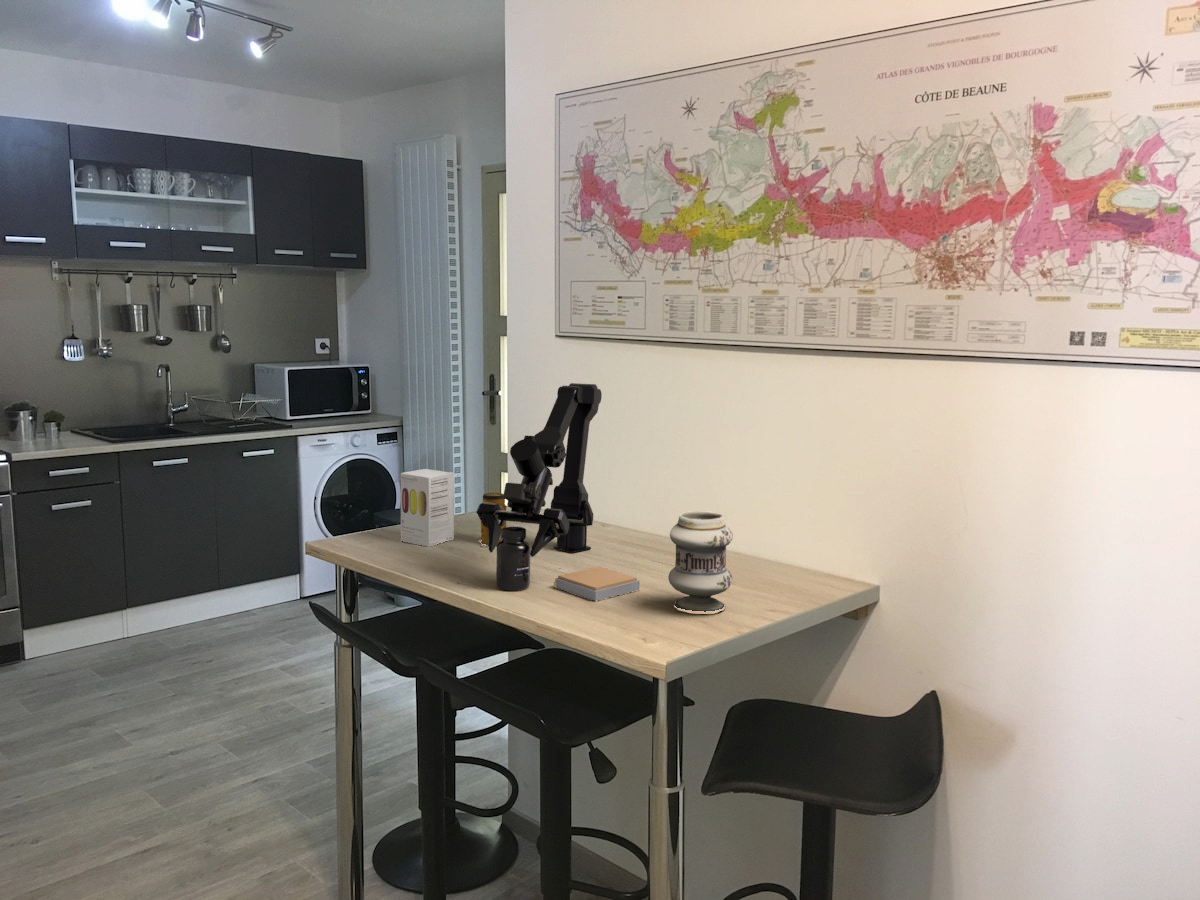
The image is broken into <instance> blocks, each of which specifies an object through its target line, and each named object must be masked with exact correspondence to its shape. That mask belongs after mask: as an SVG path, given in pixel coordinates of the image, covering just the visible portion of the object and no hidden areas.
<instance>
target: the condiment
mask: <svg viewBox="0 0 1200 900" xmlns="http://www.w3.org/2000/svg"><path fill="white" fill-rule="evenodd" d="M503 495H504V493H502V492H485V493H484V494H483V495H482V503H483V502H485V503H496V504H498V505H499V506H500V508H501V510H502V511H507V506H506V501H505V500H506V499H503ZM505 527H507V521H504V523H503V526H501V528H502V529H503V528H505ZM480 532H481V533H480V540H482V541H481V543H482V544H486V545H489V532H488V528H487V527H485V526H484V525H483V523H482V521H481V520H480ZM502 540H503V538H502V533H501V535H500V537H499V540H498V542H497V544H496V545H498V544H499V542H501V541H502ZM480 546H481V547H484V546H483V545H481V544H480Z"/></svg>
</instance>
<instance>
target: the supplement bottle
mask: <svg viewBox="0 0 1200 900" xmlns="http://www.w3.org/2000/svg"><path fill="white" fill-rule="evenodd" d="M502 538H503V540H502V541H501V542H499V544H498V545H497V546H496V564H495V565H496V568H495V569H496V572H495V574H496V577H495V579H496V580H495V585H496V587H497V588H498V589H499V590H503V591H507V592H508V591H511V592H519V590H520V591H524V589H525V590H526V589H528V588H529V587H530V585H531V584H530V583H531V555H530V552H531V548H532V546H531V544H530V543H529V542H528V541H527V540H526V539H527V528H526V527H522V526H506V527H505V528H503V529H502Z"/></svg>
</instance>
